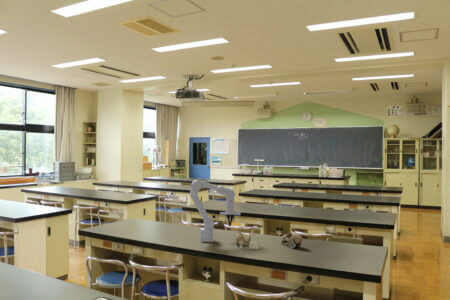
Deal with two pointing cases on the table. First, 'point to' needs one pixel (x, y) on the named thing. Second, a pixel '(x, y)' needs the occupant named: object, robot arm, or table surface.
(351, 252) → the table surface
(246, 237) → the wooden block
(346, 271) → the table surface
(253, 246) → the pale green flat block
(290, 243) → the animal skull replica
